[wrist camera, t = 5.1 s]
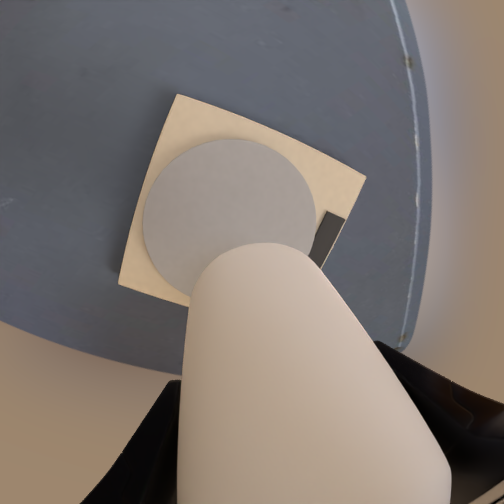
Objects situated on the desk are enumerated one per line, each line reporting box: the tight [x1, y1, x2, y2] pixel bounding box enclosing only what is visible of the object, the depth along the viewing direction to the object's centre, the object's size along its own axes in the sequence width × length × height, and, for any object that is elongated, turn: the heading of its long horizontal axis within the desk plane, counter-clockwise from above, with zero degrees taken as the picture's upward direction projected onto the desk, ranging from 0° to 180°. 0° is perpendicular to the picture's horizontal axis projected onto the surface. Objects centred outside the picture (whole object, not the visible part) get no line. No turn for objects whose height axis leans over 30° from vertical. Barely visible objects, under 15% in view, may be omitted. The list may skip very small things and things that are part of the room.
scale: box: [118, 94, 366, 307], centre depth 19 cm, size 14×14×2 cm
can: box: [177, 243, 451, 504], centre depth 8 cm, size 6×6×12 cm
